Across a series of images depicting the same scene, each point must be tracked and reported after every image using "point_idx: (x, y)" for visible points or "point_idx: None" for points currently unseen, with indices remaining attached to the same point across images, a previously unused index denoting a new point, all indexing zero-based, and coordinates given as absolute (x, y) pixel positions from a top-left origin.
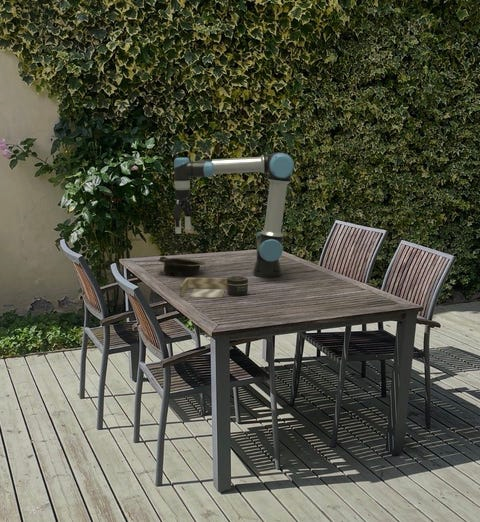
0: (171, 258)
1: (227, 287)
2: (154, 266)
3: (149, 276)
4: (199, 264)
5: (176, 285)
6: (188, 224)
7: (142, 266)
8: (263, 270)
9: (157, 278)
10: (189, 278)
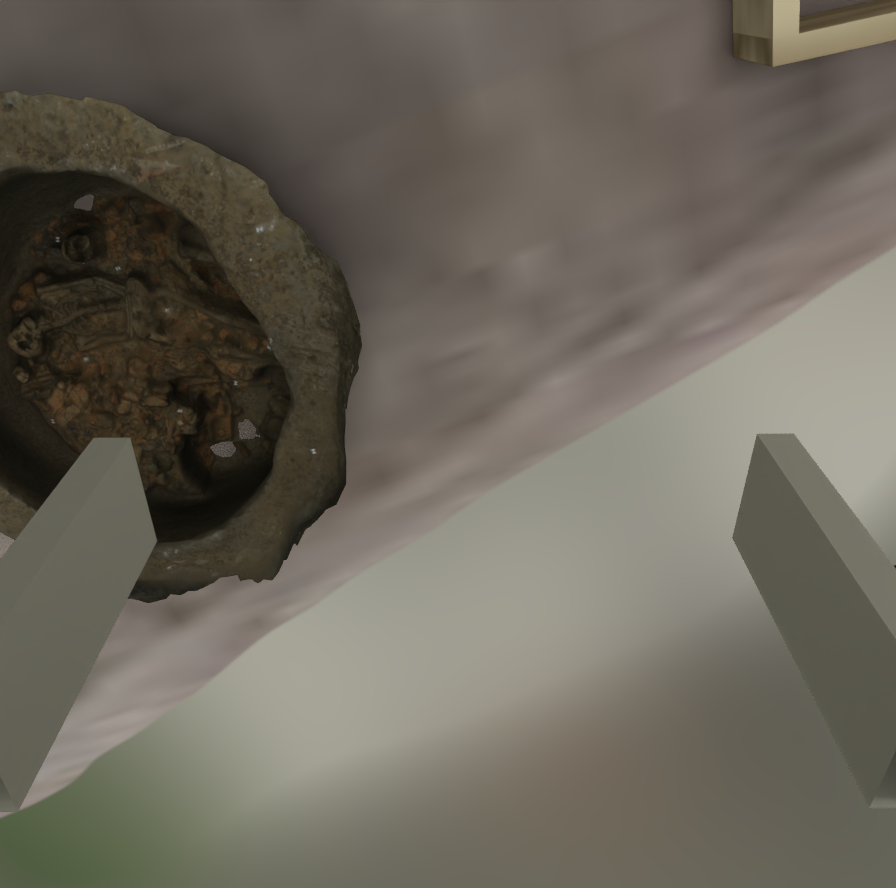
0: None
1: None
2: None
3: (368, 534)
4: (89, 155)
5: (648, 200)
6: (89, 547)
7: None
8: None
9: (416, 457)
10: (798, 14)
